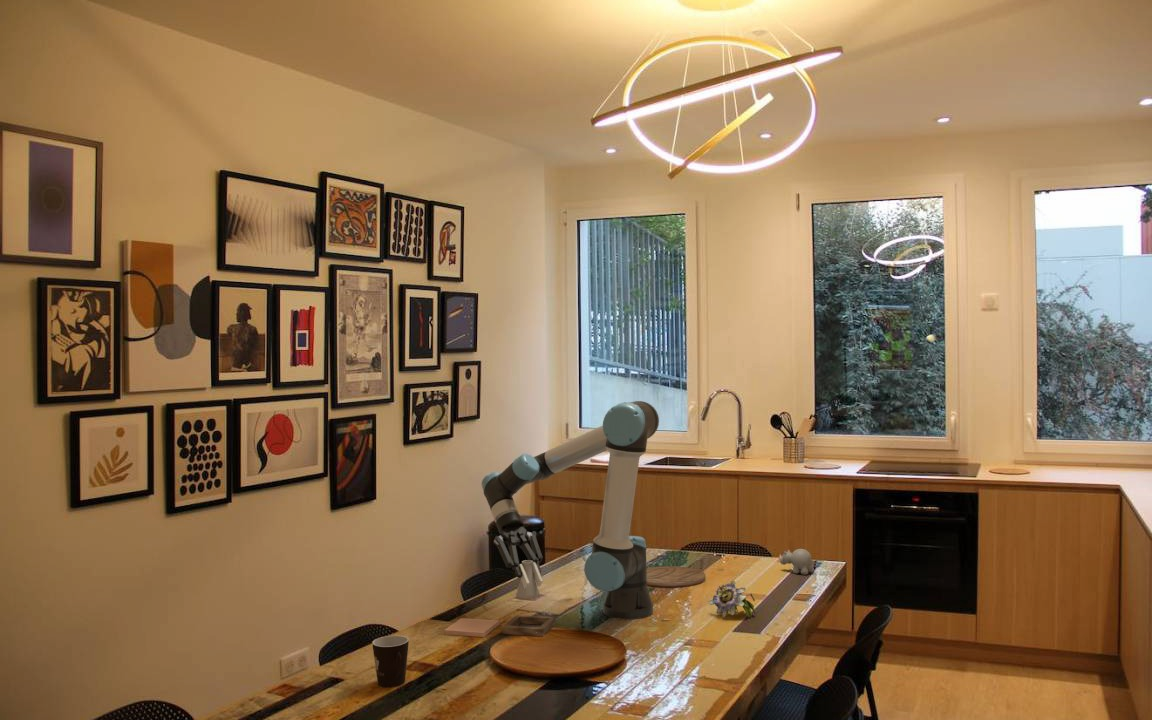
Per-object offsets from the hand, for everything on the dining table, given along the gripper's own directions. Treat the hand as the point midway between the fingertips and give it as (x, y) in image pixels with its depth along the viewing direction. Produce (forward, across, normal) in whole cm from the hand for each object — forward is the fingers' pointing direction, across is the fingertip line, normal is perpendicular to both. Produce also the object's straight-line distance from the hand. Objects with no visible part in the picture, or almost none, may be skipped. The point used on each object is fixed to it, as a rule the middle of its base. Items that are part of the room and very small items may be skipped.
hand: (533, 584), depth 249 cm
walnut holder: (+7, 0, -12) cm, 14 cm away
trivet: (-11, -66, -31) cm, 74 cm away
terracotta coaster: (+1, +14, -18) cm, 23 cm away
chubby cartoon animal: (+2, -109, -19) cm, 111 cm away
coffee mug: (+22, +47, +3) cm, 52 cm away
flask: (0, 0, -6) cm, 6 cm away
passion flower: (+22, -57, +2) cm, 61 cm away
